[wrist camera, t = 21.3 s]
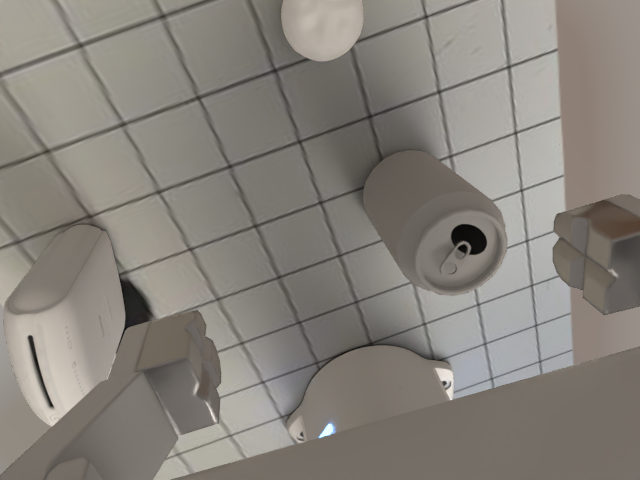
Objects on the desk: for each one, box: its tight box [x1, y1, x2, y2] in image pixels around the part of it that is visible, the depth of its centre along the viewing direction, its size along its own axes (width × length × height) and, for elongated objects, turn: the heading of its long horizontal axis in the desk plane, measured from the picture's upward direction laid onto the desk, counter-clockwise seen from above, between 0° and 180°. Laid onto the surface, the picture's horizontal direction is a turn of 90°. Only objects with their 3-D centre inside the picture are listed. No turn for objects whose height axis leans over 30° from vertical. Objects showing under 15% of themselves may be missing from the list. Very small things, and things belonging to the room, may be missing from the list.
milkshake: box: [281, 0, 364, 61], centre depth 27 cm, size 5×5×10 cm
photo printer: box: [3, 225, 125, 427], centre depth 33 cm, size 10×4×12 cm, turn 178°
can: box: [363, 150, 507, 296], centre depth 34 cm, size 8×8×12 cm
